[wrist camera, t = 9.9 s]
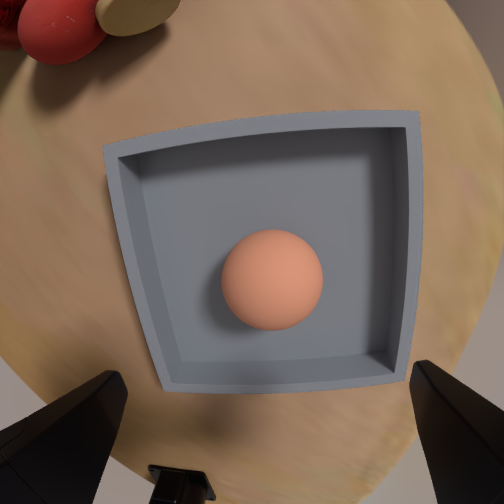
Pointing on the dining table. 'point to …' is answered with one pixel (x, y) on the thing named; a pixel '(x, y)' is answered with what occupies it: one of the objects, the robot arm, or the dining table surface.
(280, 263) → the ball
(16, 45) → the soda can
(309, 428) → the dining table surface
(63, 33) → the kendama
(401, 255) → the tray
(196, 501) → the robot arm
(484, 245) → the dining table surface
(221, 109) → the dining table surface
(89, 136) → the dining table surface
